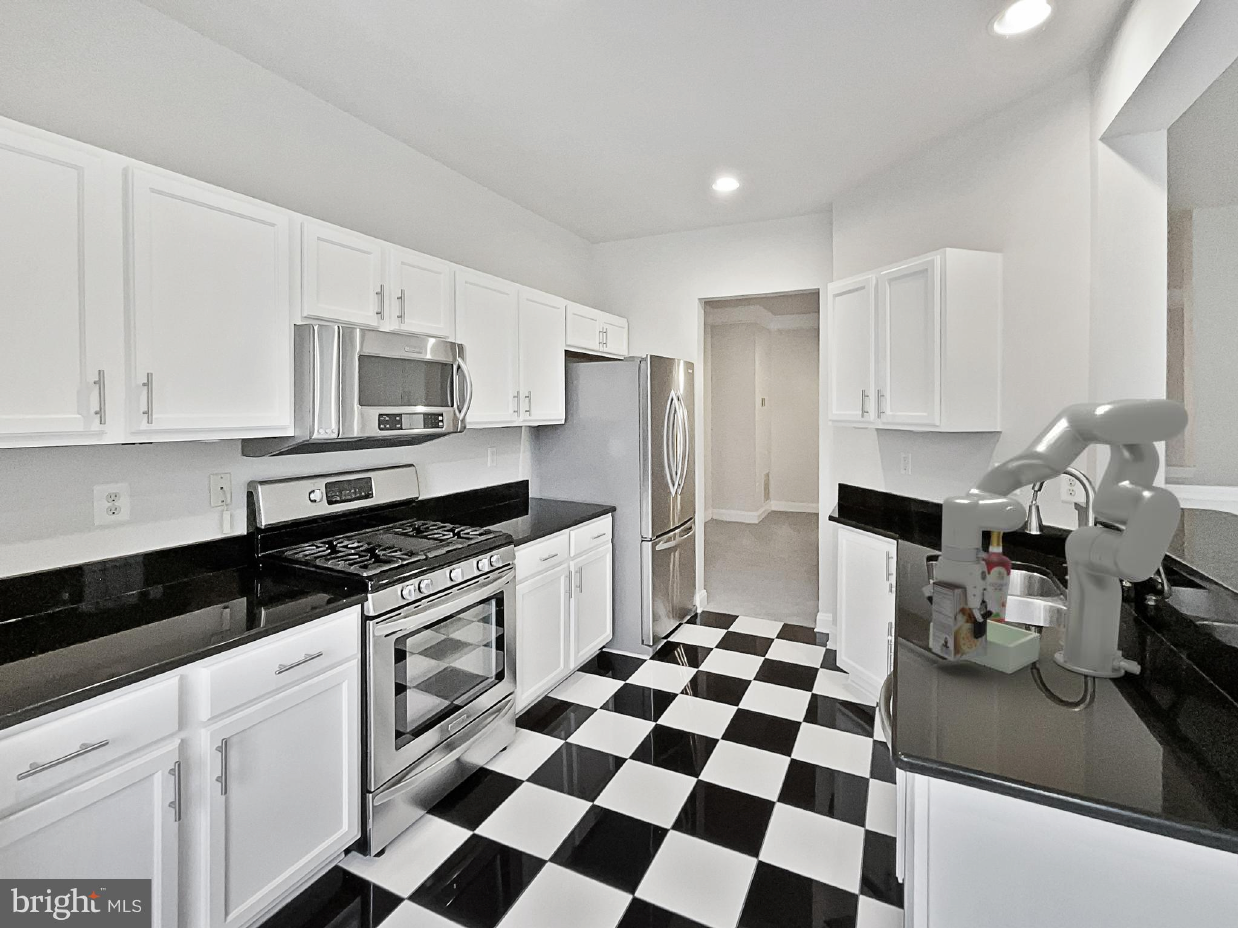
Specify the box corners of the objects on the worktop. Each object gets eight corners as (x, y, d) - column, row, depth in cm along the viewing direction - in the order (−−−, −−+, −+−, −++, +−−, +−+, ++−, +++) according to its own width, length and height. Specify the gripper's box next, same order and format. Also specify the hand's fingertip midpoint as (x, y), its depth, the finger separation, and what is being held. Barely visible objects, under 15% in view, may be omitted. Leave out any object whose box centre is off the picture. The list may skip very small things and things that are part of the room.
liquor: (1001, 627, 163) (1008, 522, 161) (1011, 637, 156) (1018, 528, 154) (970, 625, 165) (976, 521, 163) (979, 634, 158) (985, 526, 155)
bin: (1038, 659, 143) (1040, 634, 142) (1009, 673, 135) (1011, 647, 135) (959, 635, 158) (960, 612, 157) (929, 647, 150) (930, 623, 149)
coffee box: (963, 645, 141) (965, 576, 140) (987, 655, 135) (989, 584, 134) (930, 650, 139) (932, 580, 137) (953, 662, 133) (955, 588, 131)
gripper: (1012, 558, 130) (1010, 639, 131) (931, 543, 144) (929, 617, 146) (995, 564, 125) (992, 648, 127) (913, 548, 140) (911, 624, 142)
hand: (959, 631), depth 136 cm, fingers closed on coffee box, 7 cm apart
